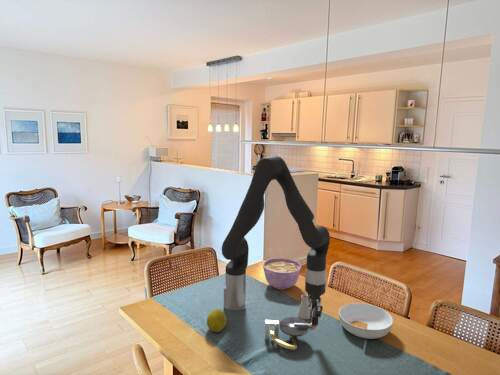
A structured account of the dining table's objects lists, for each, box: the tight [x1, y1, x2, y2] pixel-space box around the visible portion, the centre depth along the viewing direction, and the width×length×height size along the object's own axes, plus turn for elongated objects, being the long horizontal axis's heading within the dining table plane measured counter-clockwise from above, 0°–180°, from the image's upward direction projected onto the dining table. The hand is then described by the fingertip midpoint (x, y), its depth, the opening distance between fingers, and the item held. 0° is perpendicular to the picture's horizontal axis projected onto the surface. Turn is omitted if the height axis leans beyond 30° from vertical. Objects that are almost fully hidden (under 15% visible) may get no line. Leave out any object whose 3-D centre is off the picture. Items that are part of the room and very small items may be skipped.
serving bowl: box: [338, 302, 394, 340], centre depth 139 cm, size 21×21×7 cm
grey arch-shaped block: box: [264, 319, 280, 341], centre depth 131 cm, size 5×2×7 cm, turn 86°
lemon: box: [206, 308, 227, 333], centre depth 139 cm, size 11×8×8 cm
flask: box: [296, 294, 311, 320], centre depth 148 cm, size 7×7×10 cm
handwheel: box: [269, 307, 318, 350], centre depth 128 cm, size 18×15×13 cm
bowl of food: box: [262, 257, 302, 290], centre depth 178 cm, size 20×20×12 cm
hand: (313, 322), depth 129 cm, fingers closed on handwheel, 2 cm apart
